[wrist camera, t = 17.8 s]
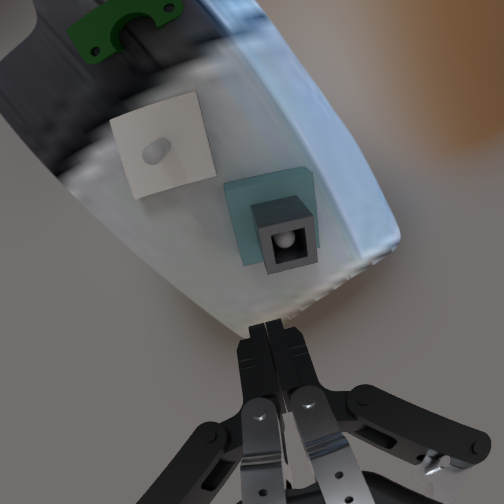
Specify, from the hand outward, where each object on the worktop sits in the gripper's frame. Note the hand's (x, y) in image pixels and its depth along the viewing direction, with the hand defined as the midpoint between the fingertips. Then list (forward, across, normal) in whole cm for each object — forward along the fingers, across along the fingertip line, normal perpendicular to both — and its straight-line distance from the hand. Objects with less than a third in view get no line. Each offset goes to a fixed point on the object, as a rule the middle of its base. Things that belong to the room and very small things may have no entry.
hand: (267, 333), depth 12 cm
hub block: (+23, -4, +6) cm, 24 cm away
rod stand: (+24, +6, -6) cm, 25 cm away
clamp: (+24, +6, -22) cm, 33 cm away
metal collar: (+20, -4, +5) cm, 21 cm away
